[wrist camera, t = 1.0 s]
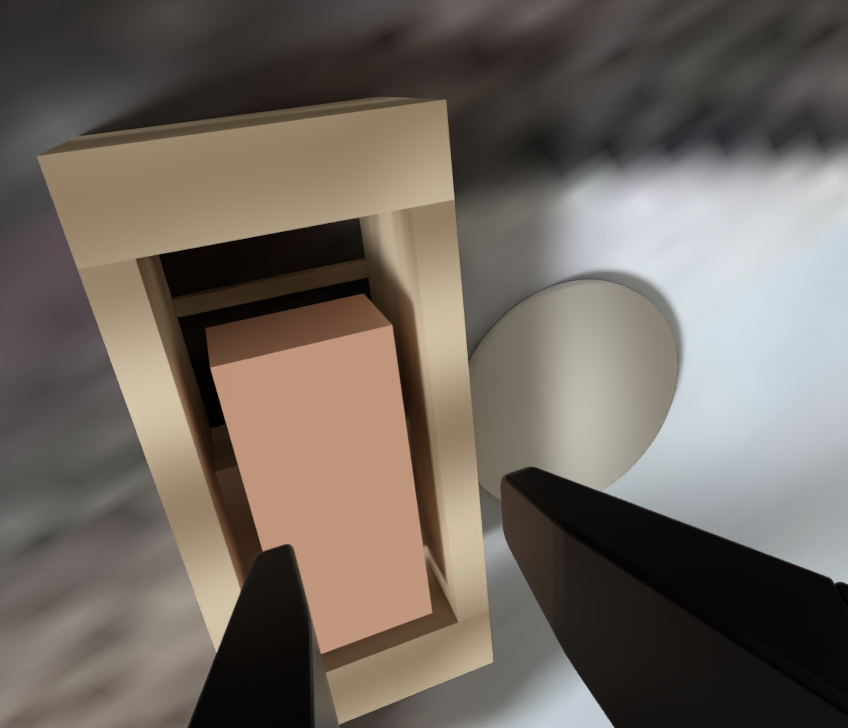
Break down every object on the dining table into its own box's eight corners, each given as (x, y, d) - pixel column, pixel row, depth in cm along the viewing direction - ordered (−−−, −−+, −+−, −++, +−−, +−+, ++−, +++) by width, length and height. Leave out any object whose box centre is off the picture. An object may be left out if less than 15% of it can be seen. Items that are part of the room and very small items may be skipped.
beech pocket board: (436, 559, 24) (493, 661, 20) (239, 628, 22) (254, 758, 18) (376, 96, 17) (446, 99, 13) (76, 136, 15) (36, 155, 11)
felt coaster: (660, 463, 26) (670, 470, 26) (464, 529, 24) (470, 539, 23) (674, 256, 22) (686, 260, 22) (442, 310, 20) (449, 316, 20)
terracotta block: (404, 557, 20) (432, 612, 18) (281, 599, 19) (295, 663, 17) (363, 293, 16) (392, 324, 14) (205, 328, 15) (210, 367, 13)
